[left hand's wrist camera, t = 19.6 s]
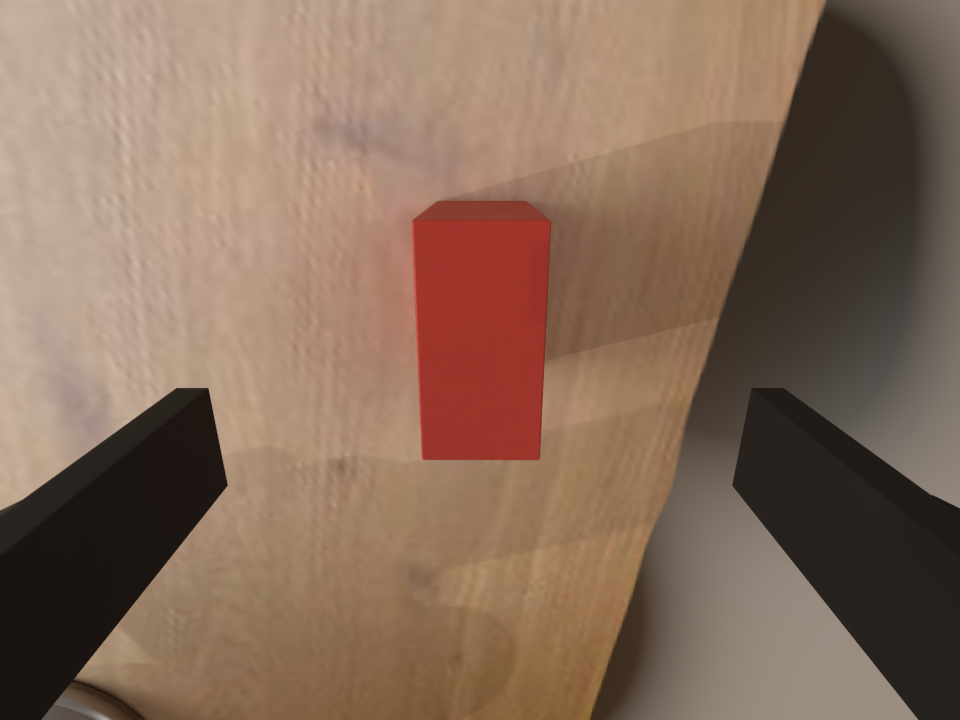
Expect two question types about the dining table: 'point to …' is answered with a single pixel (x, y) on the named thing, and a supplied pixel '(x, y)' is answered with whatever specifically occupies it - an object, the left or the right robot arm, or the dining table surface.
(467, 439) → the block
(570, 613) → the dining table surface
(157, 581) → the dining table surface
